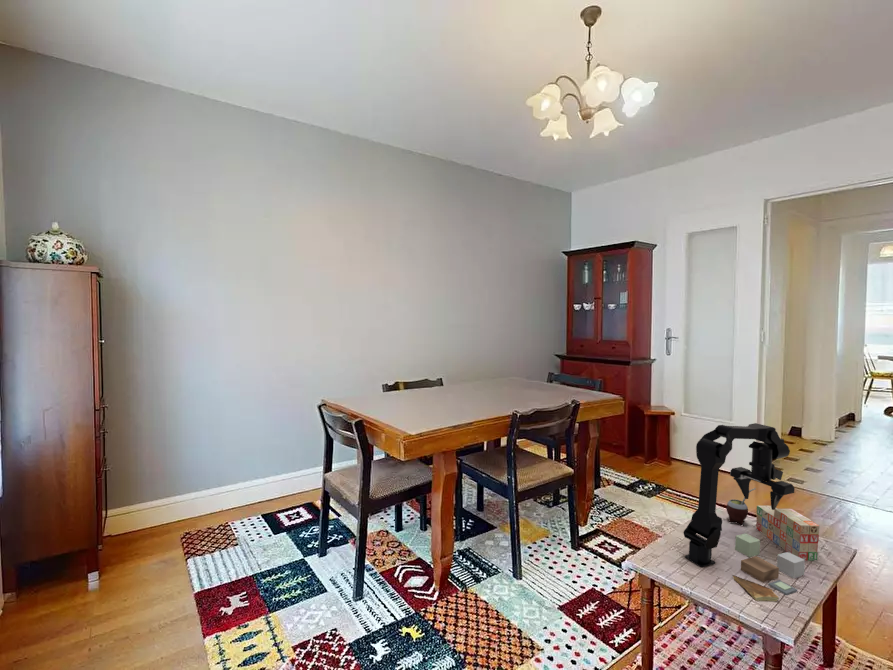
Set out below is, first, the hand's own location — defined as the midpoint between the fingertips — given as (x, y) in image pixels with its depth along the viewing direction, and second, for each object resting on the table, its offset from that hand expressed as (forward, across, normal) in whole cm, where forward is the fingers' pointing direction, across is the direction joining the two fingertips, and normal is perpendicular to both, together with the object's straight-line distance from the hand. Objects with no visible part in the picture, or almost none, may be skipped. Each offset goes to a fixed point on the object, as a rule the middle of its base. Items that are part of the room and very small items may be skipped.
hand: (759, 504), depth 156 cm
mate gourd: (+15, +14, -10) cm, 23 cm away
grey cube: (+15, -15, +7) cm, 22 cm away
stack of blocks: (+15, -3, -10) cm, 18 cm away
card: (+15, -20, +18) cm, 31 cm away
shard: (+15, -18, +28) cm, 37 cm away
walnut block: (+15, -12, +17) cm, 26 cm away
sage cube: (+15, -2, +8) cm, 17 cm away
